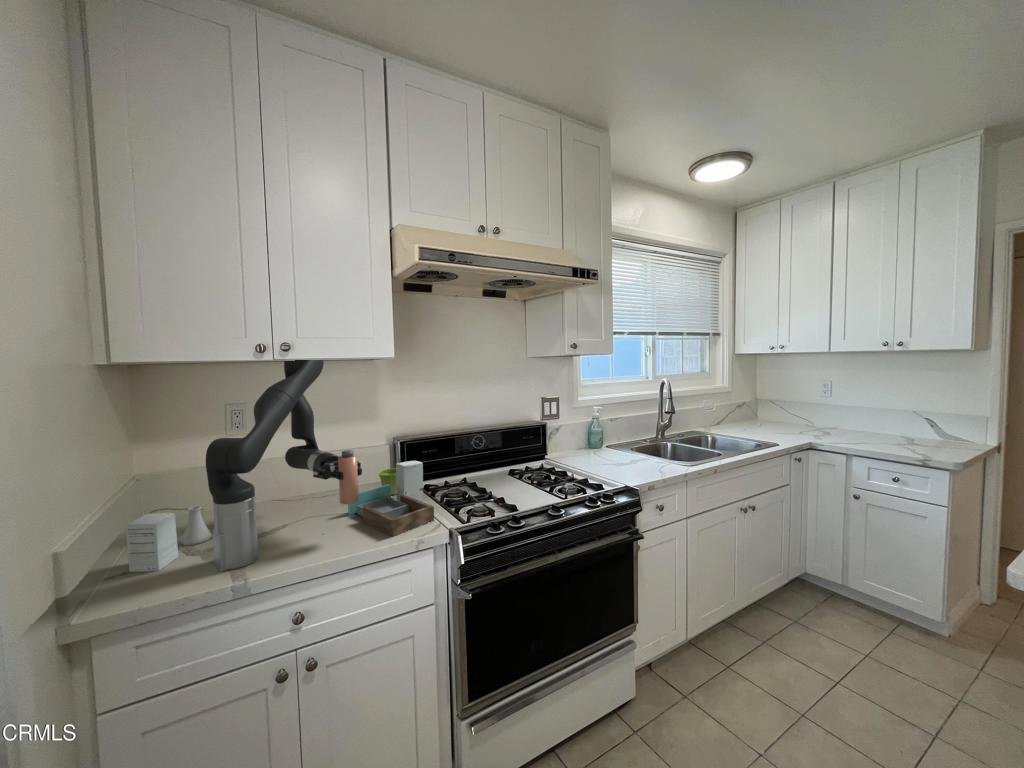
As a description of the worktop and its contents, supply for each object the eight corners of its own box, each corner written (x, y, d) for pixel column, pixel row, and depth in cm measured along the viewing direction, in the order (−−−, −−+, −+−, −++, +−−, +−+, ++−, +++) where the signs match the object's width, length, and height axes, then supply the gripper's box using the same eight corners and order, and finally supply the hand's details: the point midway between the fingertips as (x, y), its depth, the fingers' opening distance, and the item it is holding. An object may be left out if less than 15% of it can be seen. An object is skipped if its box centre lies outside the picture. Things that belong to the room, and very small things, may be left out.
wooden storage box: (393, 536, 126) (392, 520, 126) (363, 521, 138) (362, 506, 137) (434, 521, 138) (433, 506, 137) (403, 508, 149) (403, 494, 149)
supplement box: (150, 558, 114) (147, 513, 113) (179, 557, 115) (176, 512, 114) (127, 572, 107) (123, 524, 106) (158, 571, 107) (155, 523, 106)
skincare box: (403, 507, 150) (402, 466, 149) (395, 502, 155) (394, 463, 154) (424, 501, 156) (423, 462, 155) (416, 497, 160) (415, 459, 159)
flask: (195, 547, 121) (193, 513, 120) (174, 545, 122) (172, 511, 121) (217, 536, 128) (215, 504, 127) (197, 534, 129) (195, 502, 128)
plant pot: (373, 496, 162) (373, 474, 161) (386, 488, 171) (386, 467, 170) (395, 498, 160) (395, 475, 159) (407, 490, 169) (407, 468, 168)
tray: (372, 526, 133) (371, 506, 133) (348, 514, 143) (347, 495, 143) (414, 511, 145) (413, 493, 145) (389, 501, 155) (389, 484, 155)
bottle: (345, 505, 121) (343, 454, 120) (336, 501, 125) (334, 451, 123) (361, 500, 125) (360, 451, 124) (353, 496, 128) (351, 448, 127)
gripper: (300, 456, 129) (326, 466, 117) (345, 448, 139) (373, 456, 128) (301, 480, 129) (327, 492, 118) (346, 470, 140) (373, 480, 129)
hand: (351, 474), depth 123 cm, fingers closed on bottle, 5 cm apart
